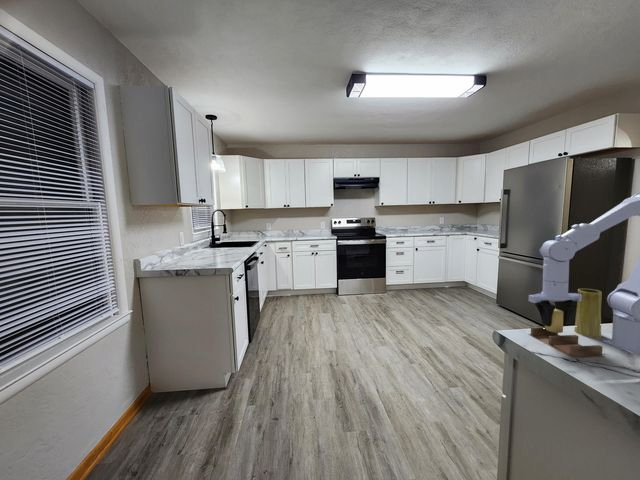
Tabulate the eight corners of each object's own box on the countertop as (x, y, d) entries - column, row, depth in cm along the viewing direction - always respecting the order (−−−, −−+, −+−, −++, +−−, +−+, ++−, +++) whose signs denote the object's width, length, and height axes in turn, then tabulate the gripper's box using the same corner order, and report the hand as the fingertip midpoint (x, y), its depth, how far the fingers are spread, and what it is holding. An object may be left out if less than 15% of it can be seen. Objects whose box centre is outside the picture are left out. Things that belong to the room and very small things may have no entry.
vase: (607, 339, 80) (609, 293, 79) (583, 338, 81) (585, 292, 80) (591, 331, 86) (593, 288, 85) (569, 330, 87) (570, 287, 86)
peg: (554, 327, 82) (554, 308, 81) (566, 332, 78) (567, 312, 77) (541, 327, 82) (542, 308, 81) (553, 333, 78) (553, 313, 77)
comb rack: (555, 334, 84) (555, 325, 84) (605, 358, 70) (606, 347, 69) (527, 335, 84) (528, 326, 84) (572, 359, 69) (572, 348, 69)
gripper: (566, 276, 83) (565, 319, 84) (521, 278, 83) (520, 320, 84) (589, 281, 76) (588, 327, 77) (540, 283, 76) (539, 329, 76)
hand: (554, 324), depth 80 cm, fingers closed on peg, 4 cm apart
